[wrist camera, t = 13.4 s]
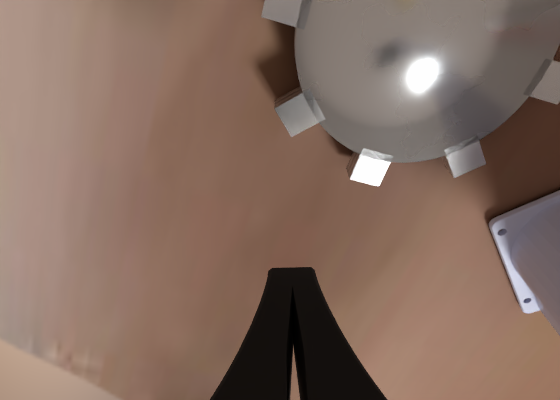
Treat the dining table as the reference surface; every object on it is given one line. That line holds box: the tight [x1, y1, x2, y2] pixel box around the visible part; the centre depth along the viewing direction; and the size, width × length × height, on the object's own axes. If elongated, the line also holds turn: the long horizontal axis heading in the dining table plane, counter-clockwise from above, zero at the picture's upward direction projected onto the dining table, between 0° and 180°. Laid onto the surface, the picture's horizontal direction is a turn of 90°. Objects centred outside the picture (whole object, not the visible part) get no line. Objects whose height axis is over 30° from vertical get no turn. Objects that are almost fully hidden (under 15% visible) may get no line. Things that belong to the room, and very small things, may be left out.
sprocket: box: [261, 0, 560, 186], centre depth 14 cm, size 14×14×5 cm
